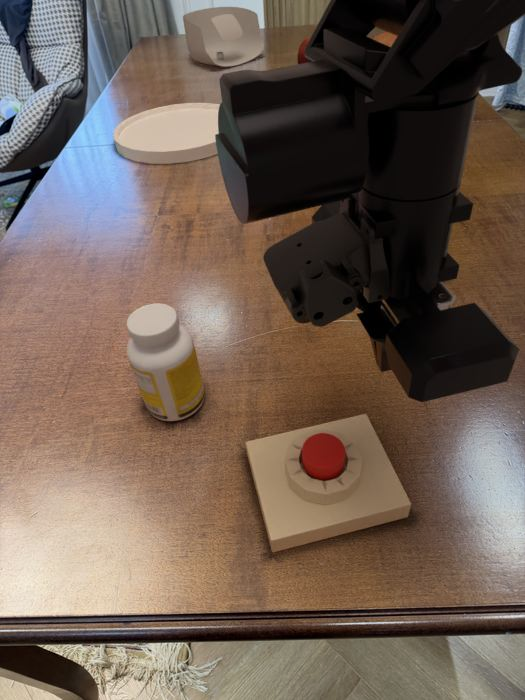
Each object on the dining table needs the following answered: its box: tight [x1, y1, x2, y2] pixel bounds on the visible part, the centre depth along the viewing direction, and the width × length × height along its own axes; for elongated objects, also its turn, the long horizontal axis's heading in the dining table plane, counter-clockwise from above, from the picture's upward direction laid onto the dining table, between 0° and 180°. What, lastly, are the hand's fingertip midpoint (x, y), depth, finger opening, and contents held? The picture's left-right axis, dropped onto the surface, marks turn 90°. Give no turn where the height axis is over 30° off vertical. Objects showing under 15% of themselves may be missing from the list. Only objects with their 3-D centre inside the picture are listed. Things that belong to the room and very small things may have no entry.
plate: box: [112, 102, 220, 165], centre depth 109 cm, size 28×28×2 cm
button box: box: [245, 413, 412, 553], centre depth 44 cm, size 10×12×4 cm
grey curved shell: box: [182, 6, 265, 67], centre depth 149 cm, size 20×19×12 cm
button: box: [302, 433, 345, 480], centre depth 43 cm, size 4×4×2 cm
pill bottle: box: [126, 302, 206, 422], centre depth 50 cm, size 6×6×12 cm
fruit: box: [296, 36, 311, 65], centre depth 131 cm, size 11×10×10 cm
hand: (385, 367), depth 39 cm, fingers closed
